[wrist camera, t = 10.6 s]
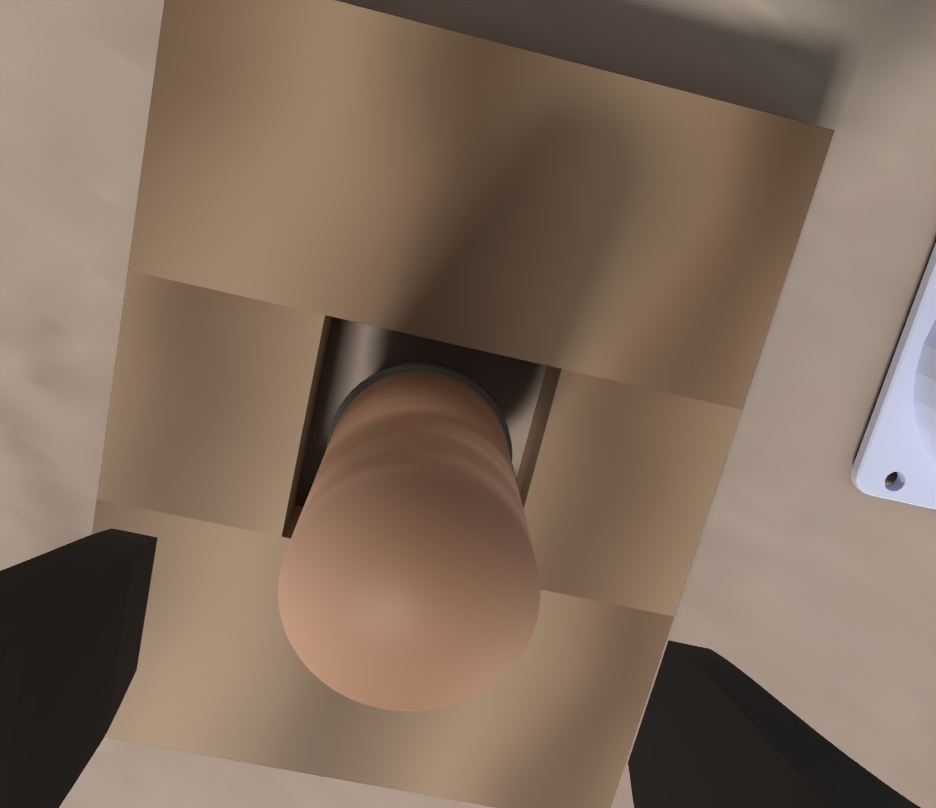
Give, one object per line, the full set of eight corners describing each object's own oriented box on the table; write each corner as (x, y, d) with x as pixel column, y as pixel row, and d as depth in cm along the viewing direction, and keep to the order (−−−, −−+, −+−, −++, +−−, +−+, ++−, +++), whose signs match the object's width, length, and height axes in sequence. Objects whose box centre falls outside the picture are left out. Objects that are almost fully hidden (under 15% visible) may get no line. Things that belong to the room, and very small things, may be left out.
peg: (523, 367, 22) (579, 501, 13) (481, 519, 23) (508, 738, 14) (357, 327, 21) (300, 439, 12) (322, 485, 22) (248, 689, 14)
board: (797, 133, 20) (834, 130, 18) (591, 775, 25) (604, 826, 23) (197, -22, 19) (170, -43, 17) (96, 684, 24) (65, 730, 22)
